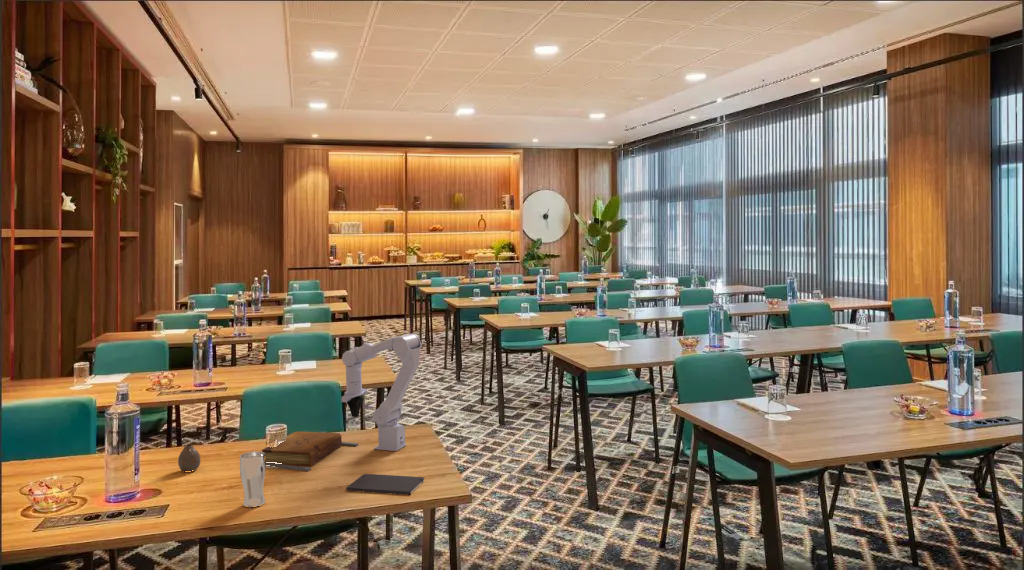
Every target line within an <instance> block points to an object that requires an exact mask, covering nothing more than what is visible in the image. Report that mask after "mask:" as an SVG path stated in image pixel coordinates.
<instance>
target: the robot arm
mask: <svg viewBox="0 0 1024 570" xmlns="http://www.w3.org/2000/svg"><path fill="white" fill-rule="evenodd" d="M422 347H423V344H422V342H421V339H420V337H419V335H417V334H416V333H408V334H404V335H399V336H394V337H393V336H392V337H390V338H389V337H388V338H387V339H385V340H382V341H381V342H378V343H375V344H373V343H371V342H364V343H363V344H362V345H360V346H359V347H358V346H355V347H353V349H351V350H346V351H345V352H344V353H343V354H342V357H341V361H342V362H343V365H345V378H346V379H345V384H346V385H345V386H346V391H344V393H343V394H344V395H342V396H341V403H346V404H347V406H348V408H349V411H350V415H351V417H353V418H359V416H360V410H361V407H362V404H363V402H364V400H365V397H364V396H362V395H367V394H368V389H367V388H363V382H362V381H363V380H362V376H363V375H362V367H363V362H366V361H370V360H371V359H374V358H376V357H377V355H378V353H380V352H383V351H387V350H390V351H393V352H394V353H395V355H396V356H397V357H398V359H399V361H401V363H402V365H401V368H399V372H398V373H397V376H396V378H395V380H394V382H393V384H392V387H391V389H390V390H389V392H388V395H387V396H386V399H385V400H384V401H382V402H381V403H380V404H379V407H378V408H376V409H375V410H374V412H373V415H372V416H373V420H374V422H375V424H376V426H377V435H378V437H377V439H378V445H376V446H374V447H373V449H374V450H381V451H390V452H391V451H392V452H397V451H399V450H401V449H402V448H404V447H406V446H407V443H406V429H405V426H404V424H400V423H398V422H399V419H400V417H401V415H402V408H403V404H402V400H403V399H404V397H405V394H406V392H407V391H408V388H409V386H410V384H411V382H412V380H413V378H414V376H415V374H416V371H417V370H418V368H419V365H420V360H421V359H420V357H421V356H420V354H421V349H422Z"/></svg>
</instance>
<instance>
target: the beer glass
mask: <svg viewBox="0 0 1024 570" xmlns="http://www.w3.org/2000/svg"><path fill="white" fill-rule="evenodd" d="M239 473H240V474H239V475H240V480H241V481H240V482H241V483H242V484H241V485H242V487H243V488H242V489H243V493H244V497H243V498H244V499H243V505H244V506H248V507H253V506H259V505H262V504H264V503H265V504H266V499H265V498H266V497H265V496H264V485H265V477H266V466H265V456H264V453H263V452H262V451H257V450H254V451H248V452H244V453H242V454H240V456H239ZM265 504H264V505H265ZM244 506H243V507H244ZM262 506H263V505H262Z"/></svg>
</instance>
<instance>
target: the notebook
mask: <svg viewBox="0 0 1024 570" xmlns="http://www.w3.org/2000/svg"><path fill="white" fill-rule="evenodd" d="M424 482H425V477H423V476H411V475H410V476H407V475H392V474H390V475H389V474H374V473H363V474H362V475H360V476H359V477H358V478H357V479H355V480H354V481H352V483H351V484H349V485H347V487H346V488H345V491H346V490H348V491H347V492H356V491H361V492H360V493H371V492H375V493H374V494H386V493H392V494H391V495H402V494H408V495H407V496H411V495H412V494H413V493H414V492H415V491H416V490H417V489H418V488H419V487H420V486H421V485H422V484H423V483H424ZM414 490H415V491H414ZM362 491H364V492H362ZM413 491H414V492H413ZM394 493H395V494H394ZM411 493H412V494H411Z"/></svg>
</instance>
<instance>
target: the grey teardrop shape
mask: <svg viewBox="0 0 1024 570" xmlns="http://www.w3.org/2000/svg"><path fill="white" fill-rule="evenodd" d="M177 464H178V467H179V469H180V471H182V472H183V471H192V470H195V469H197V468H198V469H199V467H200V464H201V456H200V453H199V451H198V450H197V449H196V448H195V447H194V446H193V444H185V445H184V446H183V448H182V451H181V452H180V453H179V455H178V458H177ZM198 469H197V470H198Z"/></svg>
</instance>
